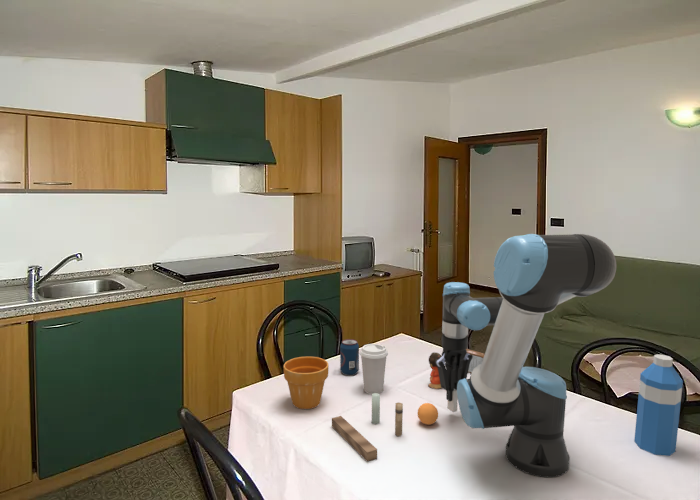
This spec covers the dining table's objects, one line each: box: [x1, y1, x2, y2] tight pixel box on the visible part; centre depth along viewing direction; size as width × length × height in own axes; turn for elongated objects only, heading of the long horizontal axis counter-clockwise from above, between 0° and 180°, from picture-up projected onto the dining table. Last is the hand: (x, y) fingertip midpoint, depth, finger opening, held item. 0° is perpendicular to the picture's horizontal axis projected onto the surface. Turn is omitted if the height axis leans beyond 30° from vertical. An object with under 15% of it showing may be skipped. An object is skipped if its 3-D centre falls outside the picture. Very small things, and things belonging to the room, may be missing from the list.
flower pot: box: [283, 356, 329, 410], centre depth 151 cm, size 14×14×13 cm
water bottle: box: [633, 353, 684, 457], centre depth 125 cm, size 9×9×25 cm
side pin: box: [371, 393, 381, 425], centre depth 139 cm, size 2×2×8 cm
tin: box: [466, 348, 485, 374], centre depth 175 cm, size 15×3×8 cm, turn 49°
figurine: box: [427, 352, 442, 390], centre depth 163 cm, size 6×6×12 cm
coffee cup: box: [359, 343, 389, 395], centre depth 160 cm, size 10×10×15 cm
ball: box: [417, 402, 439, 426], centre depth 138 cm, size 6×6×6 cm
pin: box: [394, 402, 404, 437], centre depth 132 cm, size 2×2×9 cm
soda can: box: [339, 338, 360, 376], centre depth 175 cm, size 7×7×12 cm
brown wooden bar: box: [331, 415, 378, 462], centre depth 129 cm, size 20×3×2 cm, turn 29°
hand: (452, 409), depth 143 cm, fingers closed
